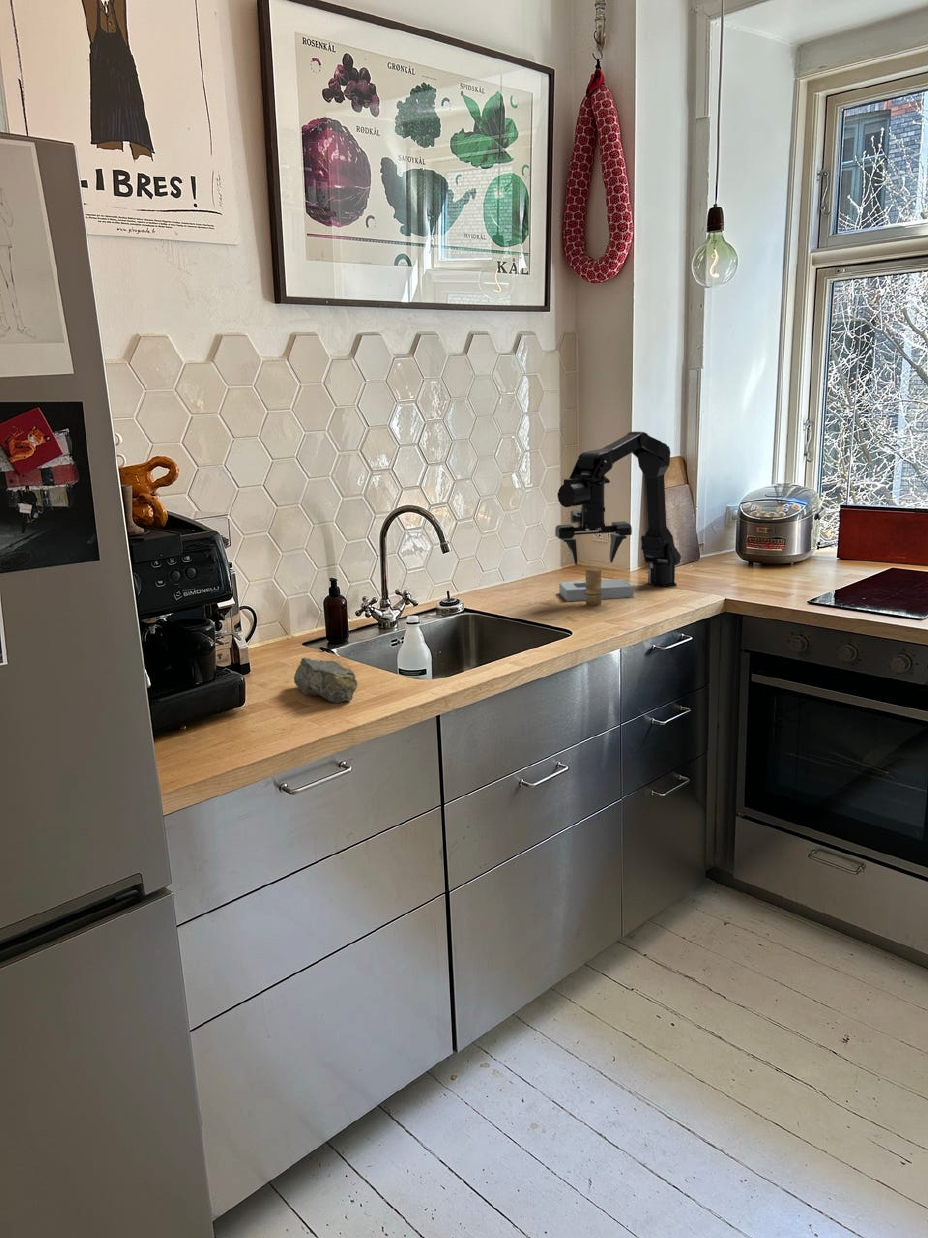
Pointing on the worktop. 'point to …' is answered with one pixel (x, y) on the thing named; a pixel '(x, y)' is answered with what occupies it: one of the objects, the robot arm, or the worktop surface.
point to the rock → (325, 680)
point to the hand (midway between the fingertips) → (593, 563)
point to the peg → (593, 587)
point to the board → (608, 589)
